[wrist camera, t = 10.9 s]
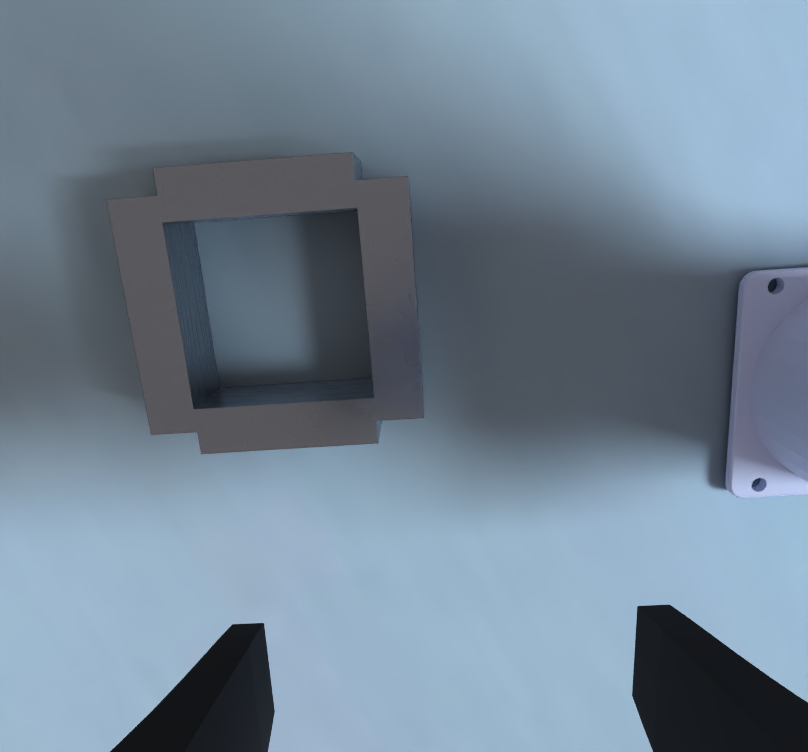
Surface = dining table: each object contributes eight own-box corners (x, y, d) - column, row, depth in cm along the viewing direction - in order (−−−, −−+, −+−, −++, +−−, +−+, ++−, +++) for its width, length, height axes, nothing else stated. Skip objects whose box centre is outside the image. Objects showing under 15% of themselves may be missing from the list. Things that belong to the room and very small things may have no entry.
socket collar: (407, 158, 19) (405, 147, 16) (424, 415, 21) (425, 440, 18) (141, 178, 19) (101, 171, 17) (184, 430, 21) (155, 456, 19)
